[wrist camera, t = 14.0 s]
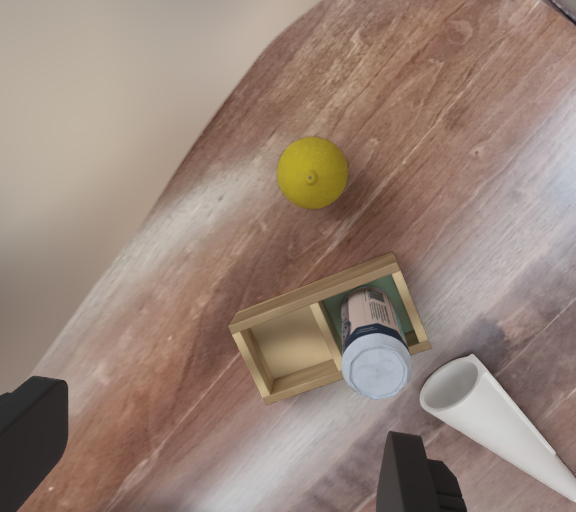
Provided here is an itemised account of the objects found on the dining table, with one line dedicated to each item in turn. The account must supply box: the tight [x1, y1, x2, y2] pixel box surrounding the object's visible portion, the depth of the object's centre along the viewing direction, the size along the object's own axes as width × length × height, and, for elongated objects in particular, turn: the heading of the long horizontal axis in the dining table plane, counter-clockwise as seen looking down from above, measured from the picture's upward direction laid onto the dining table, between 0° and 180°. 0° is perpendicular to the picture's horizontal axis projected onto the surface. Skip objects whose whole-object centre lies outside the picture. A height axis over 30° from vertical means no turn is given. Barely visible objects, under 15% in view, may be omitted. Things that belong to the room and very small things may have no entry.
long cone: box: [420, 353, 576, 503], centre depth 46 cm, size 6×6×19 cm
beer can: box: [341, 286, 413, 400], centre depth 39 cm, size 5×5×12 cm
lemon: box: [277, 137, 348, 209], centre depth 39 cm, size 6×6×8 cm
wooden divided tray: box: [229, 252, 432, 405], centre depth 45 cm, size 8×15×4 cm, turn 114°
